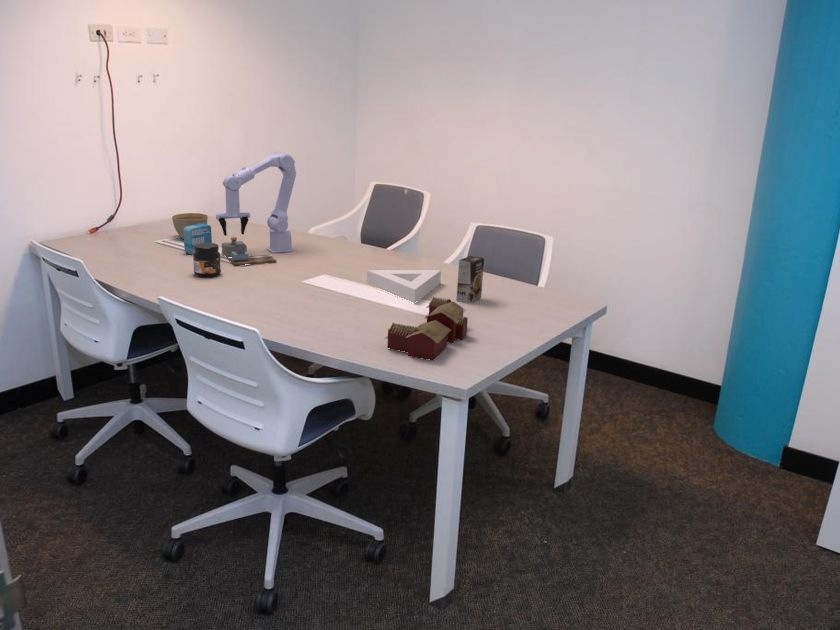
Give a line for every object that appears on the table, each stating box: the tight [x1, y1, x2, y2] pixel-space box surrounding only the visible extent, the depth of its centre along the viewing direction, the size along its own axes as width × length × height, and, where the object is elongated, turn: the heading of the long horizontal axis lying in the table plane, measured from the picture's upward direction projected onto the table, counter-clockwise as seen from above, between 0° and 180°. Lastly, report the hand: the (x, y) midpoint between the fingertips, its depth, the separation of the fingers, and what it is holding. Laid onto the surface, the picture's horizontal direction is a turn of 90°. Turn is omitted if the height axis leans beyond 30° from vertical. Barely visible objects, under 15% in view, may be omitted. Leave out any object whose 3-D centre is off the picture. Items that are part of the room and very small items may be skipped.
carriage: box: [231, 240, 250, 261], centre depth 316 cm, size 6×6×7 cm
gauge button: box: [230, 236, 238, 245], centre depth 327 cm, size 3×3×5 cm
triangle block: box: [366, 269, 442, 304], centre depth 291 cm, size 30×26×6 cm
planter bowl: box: [171, 212, 209, 240], centre depth 352 cm, size 16×16×11 cm
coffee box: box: [455, 255, 485, 305], centre depth 280 cm, size 9×6×16 cm
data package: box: [183, 224, 213, 256], centre depth 329 cm, size 12×4×12 cm, turn 147°
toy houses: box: [384, 296, 469, 362], centre depth 245 cm, size 45×21×10 cm, turn 160°
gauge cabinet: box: [221, 241, 248, 258], centre depth 328 cm, size 9×8×5 cm
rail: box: [228, 254, 277, 267], centre depth 320 cm, size 18×10×2 cm, turn 118°
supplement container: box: [192, 242, 222, 278], centre depth 297 cm, size 10×10×12 cm
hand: (233, 234), depth 325 cm, fingers open, 7 cm apart
